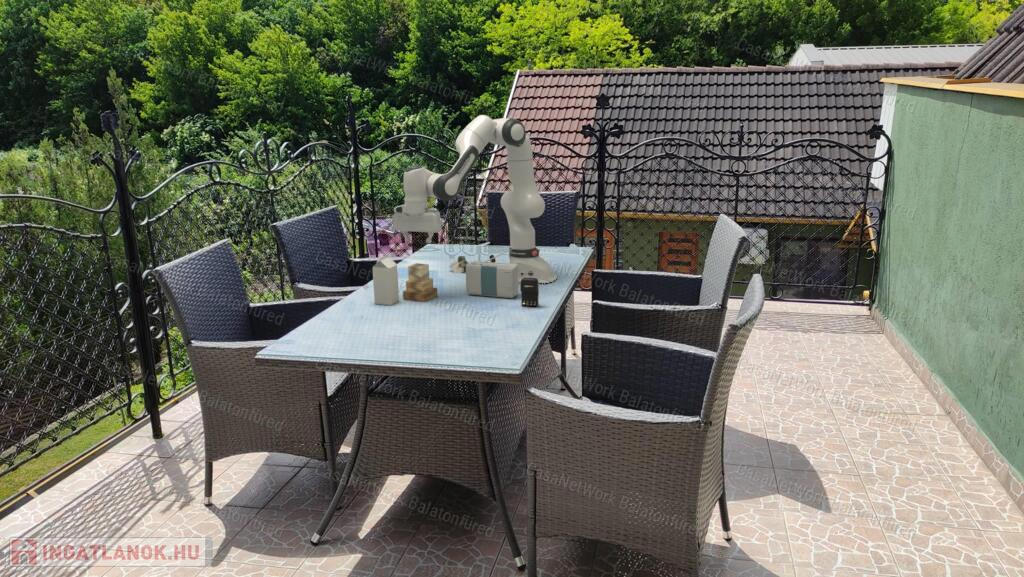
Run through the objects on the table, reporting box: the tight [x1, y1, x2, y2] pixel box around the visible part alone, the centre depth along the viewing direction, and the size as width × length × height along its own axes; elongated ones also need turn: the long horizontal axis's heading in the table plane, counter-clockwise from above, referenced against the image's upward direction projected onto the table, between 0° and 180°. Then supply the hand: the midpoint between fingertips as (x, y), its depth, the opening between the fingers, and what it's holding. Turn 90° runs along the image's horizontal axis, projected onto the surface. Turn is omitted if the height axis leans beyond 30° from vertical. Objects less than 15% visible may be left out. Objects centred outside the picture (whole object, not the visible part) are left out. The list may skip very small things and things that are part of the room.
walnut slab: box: [402, 286, 438, 303], centre depth 280 cm, size 10×10×4 cm
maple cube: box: [407, 262, 430, 282], centre depth 278 cm, size 6×6×6 cm
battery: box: [519, 277, 540, 307], centre depth 265 cm, size 7×4×11 cm, turn 76°
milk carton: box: [372, 253, 400, 306], centre depth 272 cm, size 7×7×19 cm
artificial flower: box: [449, 254, 497, 274], centre depth 327 cm, size 9×22×10 cm, turn 112°
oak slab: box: [405, 277, 434, 293], centre depth 279 cm, size 8×8×4 cm
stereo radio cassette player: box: [465, 248, 519, 299], centre depth 281 cm, size 21×8×20 cm, turn 70°
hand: (418, 242), depth 275 cm, fingers open, 8 cm apart
